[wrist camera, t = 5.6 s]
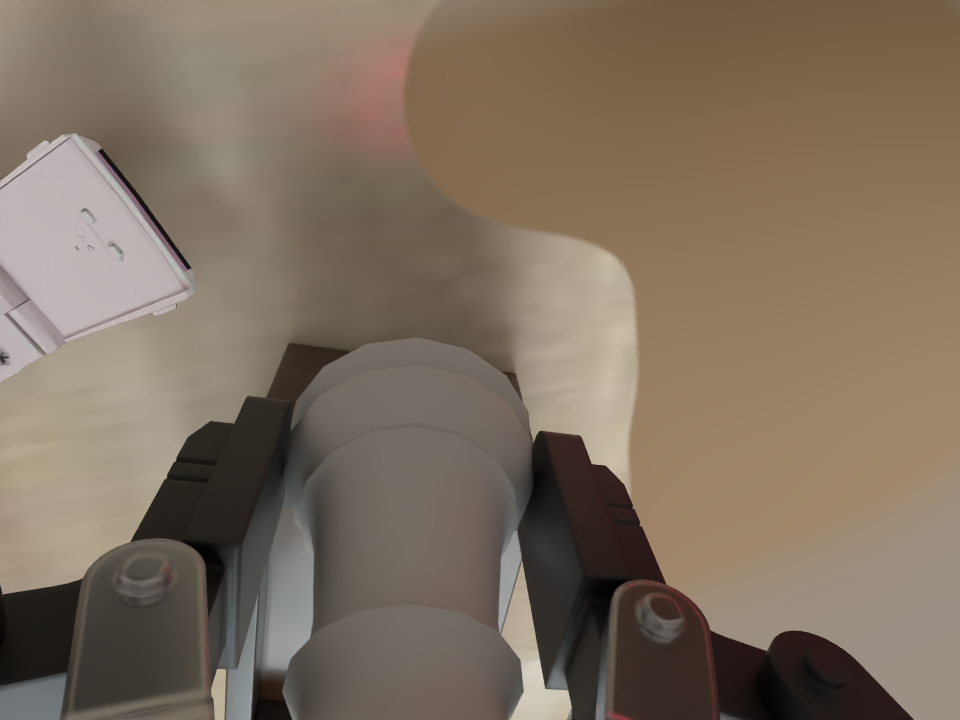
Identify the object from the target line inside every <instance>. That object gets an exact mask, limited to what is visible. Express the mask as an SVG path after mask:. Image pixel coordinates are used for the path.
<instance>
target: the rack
mask: <svg viewBox="0 0 960 720" xmlns="http://www.w3.org/2000/svg"><path fill="white" fill-rule="evenodd" d="M348 353H350V352H349V351H342V350H334V349H327V348H319V347H312V346H304V345H297V344H288V346H287V348H286V351H285V353H284V355H283V358H282V360H281V363H280V365H279V368H278V370H277V372H276V375H275V377H274V380H273V382H272V385H271V387H270V389H269V392H268V394H267V397H266V398H270V399H278V400H287V401H292V418H293V413H294V408H295V404H296V401H297V400H298V398H299V397H300V396H301V395H302V393H303V392H304V391H305V390H306V388H307V387H308V386H309V385H310V383H311V382H312V381H313V380H314V378H315V377H316V376H317V374H318V373H319V372H320V371H321V369H322V368H323V367H324V366H326V365H328V364H330V363H331V362H333V361H335V360H337V359H339V358H341V357H343V356H345V355H346V354H348ZM502 373H503V374H505V375H506V376H507V377H508V379H509V381H510V382H511V384H512V386H513V387H514V389H515V391H516V392H517V394H518V396H519V397H520V399H521V401H522V402H523V400H522V396H521V392H520V389H519V385H518V381H517V377H516V374H513V373H506V372H502ZM530 439H531V441H532V449H533V445H534V442H533V439H532V435H531V431H530ZM521 562H522V556H521V550H520V545H519V539H518V533H517V530H516V531H515V532H514V533H513V535H512V537H511V540H510V542H509V545H508V547H507V549H506V552H505V553H504V554H503V555H502V556H501V573H500V596H499V618H498V624H499V632H500V634H501V633H502V629H503V626H504V622H505V618H506V615H507V611H508V608H509V604H510V601H511V597H512V594H513V590H514V587H515V583H516V579H517V576H518V572H519V569H520V565H521ZM313 578H314V555H313V554H312V553H311V552H310V551H309V550H308V549H307V545H306V542H305V539H304V535H303V532H302V530H301V529H300V528H299V527H298V526H297V525H296V523H295V519H294V516H293V512H292V509H291V506H290V502H289V499H288V495H287V492H285V497H284V503H283V507H282V511H281V515H280V518H279V522H278V525H277V529H276V533H275V536H274V540H273V543H272V547H271V550H270V554H269V558H268V561H267V565H266V568H265V572H264V575H263V579H262V582H261V586H260V590H259V593H258V597H257V600H256V604H255V607H254V611H253V615H252V618H251V622H250V625H249V629H248V632H247V636H246V640H245V643H244V647H243V650H242V654H241V657H240V661H239V664H238V668H237V670H232V669H226V692H225V720H292V718H291V715H290V712H289V709H288V706H287V704H286V701H285V698H284V695H283V692H282V690H283V686H284V682H285V678H286V674H287V670H288V666H289V662H290V659H291V658H292V657H293V656H294V655H295V654H296V653H297V651H298V650H299V649H300V648H301V647H302V646H303V645H304V644H305V643H306V642H307V641H308V640H309V639H310V635H311V629H312V624H313Z"/></svg>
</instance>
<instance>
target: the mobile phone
mask: <svg viewBox="0 0 960 720" xmlns="http://www.w3.org/2000/svg"><path fill="white" fill-rule="evenodd" d="M27 158H28V159H27V160H26V161H25V162H23V163H22V164H21V165H20V166H18V167H17V168H16V169H15V170H13V171H12V172H11V173H10V174H9V175H7V176H6V177H5V178H4V179H3V180H1V181H0V382H1V381H3V380H5V379H7V378H8V377H10V376H12V375H14V374H15V373H17V372H19V371H21V370H22V369H23V368H24V367H25V366H27V365H28V364H30V363H32V362H34V361H35V360H37V359H39V358H40V357H42V356H44V355H45V354H47V353H48V354H50V353H52V352H54V351H55V350H57V349H58V348H60V347H61V346H62V345H63V344H64V343H65V342H68V341H71V340H73V339H76V338H79V337H82V336H85V335H88V334H91V333H94V332H97V331H100V330H103V329H105V328H108V327H111V326H114V325H117V324H120V323H123V322H126V321H129V320H132V319H134V318H137V317H140V316H143V315H146V314H150V313H152V314H153V315H154V316H158V315H161V314H164V313H166V312H169V311H171V310H174V309H175V308H176V307H177V305H176V303H177V302H180V301H182V300H185V299H187V298H189V297H190V296H191V295H192V294H193V293H194V292H195V285H196V284H195V274H194V272H193V271H192V269H191V267H190V265H189V264H188V262H187V261H186V260H185V258H184V257H183V256H182V254H181V253H180V251H179V250H178V249H177V247H176V246H175V244H174V243H173V242H172V240H171V239H170V237H169V236H168V235H167V233H166V232H165V231H164V229H163V228H162V226H161V225H160V224H159V222H158V221H157V219H156V218H155V217H154V215H153V214H152V212H151V211H150V210H149V208H148V207H147V206H146V204H145V203H144V201H143V200H142V199H141V197H140V196H139V194H138V193H137V192H136V191H135V189H134V188H133V187H132V186H131V184H130V183H129V182H128V181H127V179H126V178H125V177H124V176H123V174H122V173H121V172H120V171H119V169H118V168H117V167H116V166H115V164H114V163H113V162H112V160H111V159H110V158H109V157H108V155H107V154H106V153H105V152H104V150H103V149H102V148H101V147H100V146H99V144H98V143H97V142H95V141H93V140H90V139H88V138H86V137H83V136H81V135H78V134H76V133H73V134H63V135H62V136H60V137H59V138H57V139H56V140H54V141H53V142H52V143H50V142H49V141H43V142H42V143H41V144H39V145H38V146H36V147H35V148H34V149H32V150H31V151H30V152H29V153H27Z"/></svg>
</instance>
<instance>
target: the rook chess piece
mask: <svg viewBox="0 0 960 720" xmlns="http://www.w3.org/2000/svg"><path fill="white" fill-rule="evenodd" d="M283 478H284V484H285V489H286V492H287V495H288V499H289V502H290V506H291V509H292V512H293V516H294V519H295V523H296V525H297V526H298V527H299V528H300V529H301V530H302V532H303V535H304V539H305V542H306V545H307V549H308V550H309V551H310V552H311V553H312V554H313V555H314V578H313V624H312V629H311V635H310V639H309V640H308V641H307V642H306V643H305V644H304V645H303V646H302V647H301V648H300V649H299V650H298V651H297V653H296V654H295V655H294V656H293V657H292V658H291V659H290V662H289V666H288V670H287V674H286V678H285V682H284V686H283V690H282V692H283V695H284V698H285V701H286V704H287V706H288V709H289V712H290V715H291V718H292V720H510V718H511V716H512V714H513V712H514V710H515V708H516V706H517V704H518V702H519V699H520V697H521V695H522V693H523V691H524V690H523V681H522V671H521V662H520V659H519V658H518V656H517V655H516V654H515V652H514V651H513V650H512V649H511V647H510V646H509V645H508V643H507V642H506V641H505V640H504V638H503V637H502V636H501V634H500V632H499V624H498V618H499V596H500V573H501V556H502V555H503V554H504V553H505V552H506V549H507V547H508V545H509V542H510V540H511V537H512V535H513V533H514V532H515V531H516V530H517V528H518V526H519V523H520V521H521V518H522V516H523V514H524V511H525V509H526V506H527V504H528V501H529V499H530V497H531V494H532V490H533V485H534V467H533V454H532V441H531V439H530V427H529V414H528V411H527V409H526V407H525V406H524V404H523V402H522V401H521V399H520V397H519V396H518V394H517V392H516V391H515V389H514V387H513V386H512V384H511V382H510V381H509V379H508V377H507V376H506V375H505V374H503V373H502V372H500V371H499V370H498V369H496V368H495V367H493V366H492V365H490V364H489V363H487V362H486V361H485V360H483V359H482V358H480V357H479V356H477V355H476V354H475V353H473V352H472V351H470V350H469V349H466V348H462V347H458V346H454V345H449V344H445V343H441V342H437V341H433V340H428V339H424V338H420V337H416V338H408V339H400V340H392V341H383V342H375V343H367V344H365V345H363V346H362V347H360V348H358V349H356V350H354V351H352V352H350V353H348V354H346V355H345V356H343V357H341V358H339V359H337V360H335V361H333V362H331V363H330V364H328V365H326V366H324V367H323V368H322V369H321V371H320V372H319V373H318V374H317V376H316V377H315V378H314V380H313V381H312V382H311V383H310V385H309V386H308V387H307V388H306V390H305V391H304V392H303V393H302V395H301V396H300V397H299V398H298V400H297V401H296V404H295V408H294V413H293V418H292V423H291V433H290V438H289V443H288V448H287V452H286V457H285V462H284V470H283Z"/></svg>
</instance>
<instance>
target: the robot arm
mask: <svg viewBox="0 0 960 720" xmlns="http://www.w3.org/2000/svg"><path fill="white" fill-rule="evenodd" d="M291 423H292V401H287V400H278V399H270V398H261V397H253V396H247V398H246V399H245V402H244V404H243V406H242V408H241V410H240V413H239V415H238V417H237V419H236V421H235V424H232V423H223V422H214V421H210V422H209V423H207V424H206V425H204V426H203V427H202V428H200V429H199V430H197V431H196V432H195V433H193V434H192V435H190V436H189V437H188V438H187V440H186V441H185V443H184V445H183V447H182V449H181V451H180V452H179V454H178V456H177V459H176V462H174V463H173V465H172V467H171V469H170V471H169V472H168V474H167V479H165V480H164V482H163V483H162V485H161V487H160V489H159V491H158V493H157V494H156V496H155V498H154V500H153V502H152V503H151V505H150V507H149V509H148V511H147V513H146V514H145V516H144V518H143V520H142V522H141V524H140V525H139V527H138V529H137V531H136V533H135V534H134V536H133V538H132V540H131V542H130V543H126V544H124V545H121V546H118V547H116V548H114V549H112V550H110V551H108V552H107V553H105V554H104V555H103V556H101V557H100V558H99V559H97V560H96V561H95V562H94V563H93V564H92V565H91V566H90V568H89V569H88V570H87V572H86V573H85V575H84V577H83V579H80V580H78V581H74V582H71V583H68V584H63V585H58V586H53V587H47V588H40V589H34V590H28V591H21V592H15V593H9V594H2V590H1V587H0V720H215V717H214V702H213V698H212V697H211V687H212V684H213V680H214V677H215V674H216V671H217V669H232V670H237V668H238V664H239V661H240V657H241V654H242V650H243V647H244V643H245V640H246V636H247V632H248V629H249V625H250V622H251V618H252V615H253V611H254V607H255V604H256V600H257V597H258V593H259V590H260V586H261V582H262V579H263V575H264V572H265V568H266V565H267V561H268V558H269V554H270V550H271V547H272V543H273V540H274V536H275V533H276V529H277V525H278V522H279V518H280V515H281V511H282V507H283V503H284V497H285V492H286V489H285V484H284V478H283V470H284V462H285V457H286V452H287V448H288V443H289V438H290V433H291ZM532 454H533V467H534V485H533V490H532V494H531V497H530V499H529V501H528V504H527V506H526V509H525V511H524V514H523V516H522V518H521V521H520V523H519V526H518V528H517V533H518V539H519V545H520V550H521V556H522V562H523V567H524V573H525V578H526V584H527V589H528V595H529V600H530V606H531V612H532V617H533V623H534V628H535V634H536V639H537V645H538V651H539V656H540V662H541V667H542V673H543V678H544V684H545V689H555V690H568V691H569V696H570V700H571V705H572V707H571V710H570V712H569V715H568V718H567V720H913V718H912V717H911V716H910V715H909V714H908V713H907V712H906V711H905V710H904V709H903V708H902V707H901V706H900V705H899V704H898V703H897V702H896V701H895V700H894V699H893V698H892V697H891V696H890V695H889V694H888V693H887V692H886V691H885V689H884V688H883V687H882V686H881V685H880V684H879V683H878V682H877V681H876V680H875V679H874V678H873V677H872V676H871V675H870V674H869V673H868V672H867V671H866V670H865V669H864V668H863V667H862V666H861V665H860V663H858V662H857V661H856V660H855V659H854V658H853V657H852V656H851V655H850V654H848V653H847V652H846V651H845V650H843V649H842V648H840V647H839V646H837V645H836V644H834V643H832V642H830V641H828V640H827V639H825V638H822V637H820V636H817V635H814V634H811V633H808V632H803V631H786V632H783V633H780V634H779V635H778V636H776V637H775V638H774V640H773V641H772V643H771V645H770V647H769V648H768V650H767V651H765V650H762V649H759V648H756V647H753V646H750V645H747V644H744V643H741V642H739V641H735V640H733V639H729V638H727V637H724V636H722V635H719V634H717V633H715V632H713V631H711V630H710V628H709V625H708V622H707V620H706V618H705V616H704V615H703V613H702V612H701V610H700V609H699V608H698V607H697V605H695V603H693V602H692V601H691V600H690V599H689V598H688V597H686V596H685V595H684V594H682V593H681V592H679V591H678V590H676V589H674V588H672V587H670V586H668V585H666V582H665V580H664V578H663V576H662V573H661V571H660V568H659V566H658V564H657V561H656V559H655V556H654V554H653V552H652V549H651V547H650V545H649V542H648V540H647V537H646V535H645V533H644V530H643V528H642V527H641V526H640V521H639V519H638V517H637V514H636V512H635V510H634V509H633V504H632V502H631V500H630V497H629V495H628V493H627V490H626V488H625V485H624V484H623V483H622V482H621V481H620V480H619V479H618V478H617V477H616V476H615V475H614V474H613V473H612V472H611V471H610V470H609V469H608V468H607V467H606V466H604V465H595V464H591V461H590V458H589V456H588V453H587V450H586V448H585V445H584V442H583V440H582V438H581V436H579V435H571V434H563V433H554V432H546V431H540V432H539V433H538V434H537V436H536V438H535V441H534V445H533V449H532Z"/></svg>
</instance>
